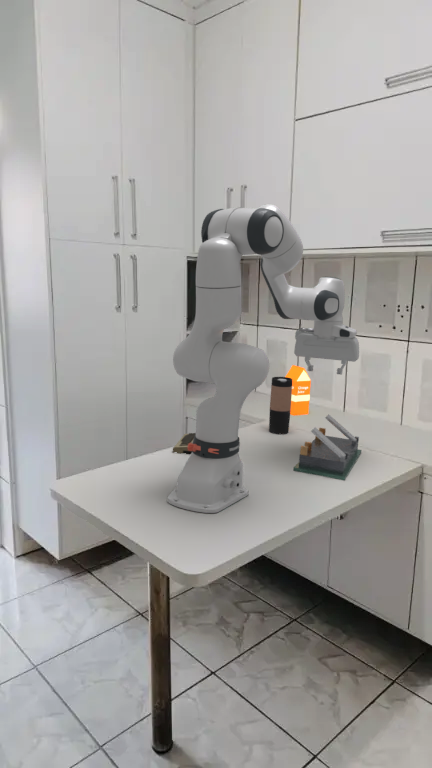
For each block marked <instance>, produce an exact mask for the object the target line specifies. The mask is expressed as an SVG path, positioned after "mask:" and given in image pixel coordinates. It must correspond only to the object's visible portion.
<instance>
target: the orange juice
mask: <svg viewBox="0 0 432 768" xmlns="http://www.w3.org/2000/svg"><path fill="white" fill-rule="evenodd" d="M306 370H307V369H306V368H305V367H302V366H298V365H295V364H292V365H291V366H290V369H289V370H288V372H287V373H286V375H285V376H284V377H288V378H291V379H292V397H291V412H290V416H293V417H294V416H305V415H309V409H310V401H311V400H310V398H311V385H312V384H311V382H312V380H311V378H310V376H309V375H308V374H309V373H308V371H306Z"/></svg>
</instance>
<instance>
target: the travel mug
mask: <svg viewBox="0 0 432 768" xmlns="http://www.w3.org/2000/svg"><path fill="white" fill-rule="evenodd" d="M270 389H271V390H270V399H269V400H270V401H269V421H268V423H269V424H268V432H270V433H272V434H275V435H286V434H288V433H289V429H290V418H291V414H290V412H291V397H292V379H291V378H288V377H285V376H274V377H272V378H271V387H270Z"/></svg>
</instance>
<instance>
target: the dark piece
mask: <svg viewBox="0 0 432 768" xmlns="http://www.w3.org/2000/svg"><path fill="white" fill-rule="evenodd" d="M318 430H319V431H320V432H321V433H322V434H323V435H325V436H326V437H327V438H328V439H329V440H330V441H331V442H332V443H334V444H335V445H336V446H337V447H338V448H339V449H340V450H341V451H343V452H344V453H345V454H346V456H345V457H344V456H341V458H340V457H339V456H338V455H337V454H336V453H335V452H333V451H332V450H331V449H330V448H329V447H328V446H327V445H326V444H324V443H323V442H322V441H321V440H320V439H319V438H318V437H317V436H315V435H314V436H315V438H314V440H312V441H305V442H304V445H301V446H300V449H299V450H300V451H299V453H300V454H299V459H298V462H297V463H296V464H295V465H294V466H293V471H294V472H298V473H303V474H310V475H315V476H321V477H325V478H330V479H336V480H339V481H346V478H347V477H348V476H349V474H350V472H351V471H352V469H353V468H354V466H355V464H356V463H357V461H358V459H359V458H360V456H361V454H362V449H359V448H358V447H359V441H360V436H354V437H355V438H356V439H357V440H352V441H351V440H349V439H348V438H341V437H337V436H329V435H326V433H327V432H326V431H327V428H325V427H319V428H318ZM293 471H292V472H293Z"/></svg>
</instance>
